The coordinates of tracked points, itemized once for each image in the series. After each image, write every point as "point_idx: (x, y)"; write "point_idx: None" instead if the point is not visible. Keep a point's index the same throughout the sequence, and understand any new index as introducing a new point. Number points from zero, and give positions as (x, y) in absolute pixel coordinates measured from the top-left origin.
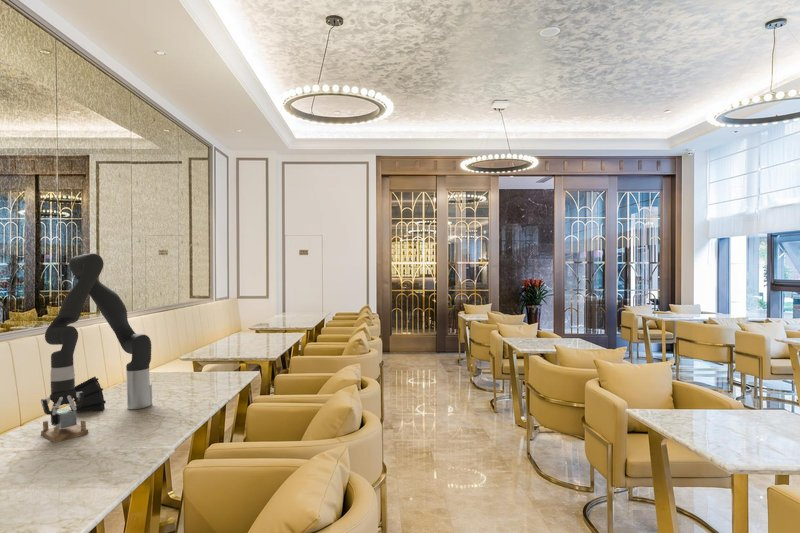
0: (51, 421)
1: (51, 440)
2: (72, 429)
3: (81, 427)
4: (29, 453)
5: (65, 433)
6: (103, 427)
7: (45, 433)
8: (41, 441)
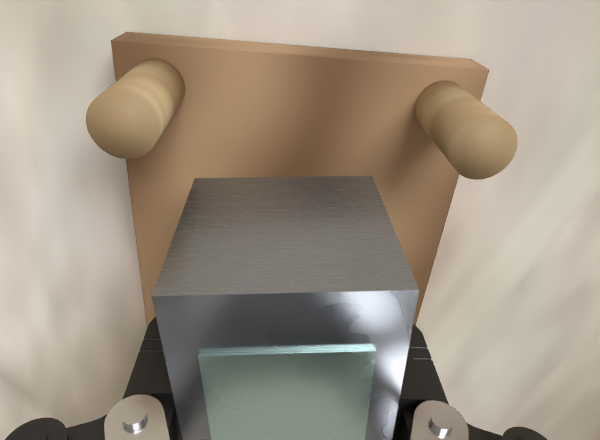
0: (150, 340)
1: None
2: None
3: None
4: (6, 428)
5: None
6: (529, 330)
7: (132, 208)
8: (96, 268)
